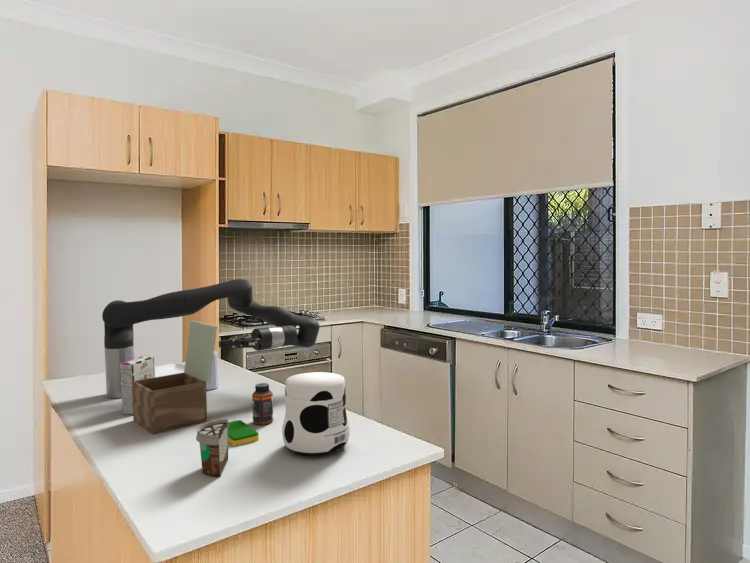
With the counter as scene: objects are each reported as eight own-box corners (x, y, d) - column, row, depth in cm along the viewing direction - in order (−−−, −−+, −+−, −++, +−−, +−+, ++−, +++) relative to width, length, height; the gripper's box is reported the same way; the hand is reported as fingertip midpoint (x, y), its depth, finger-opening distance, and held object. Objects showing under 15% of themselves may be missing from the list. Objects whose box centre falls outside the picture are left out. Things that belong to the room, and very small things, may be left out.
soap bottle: (224, 386, 199) (223, 332, 197) (207, 392, 192) (205, 335, 190) (200, 382, 206) (199, 329, 204) (183, 386, 199) (181, 332, 198)
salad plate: (209, 376, 216) (209, 368, 216) (164, 388, 198) (164, 379, 198) (175, 370, 227) (175, 362, 227) (129, 381, 209) (129, 372, 209)
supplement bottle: (277, 420, 160) (276, 383, 160) (265, 426, 155) (264, 388, 154) (261, 417, 163) (260, 381, 162) (248, 423, 158) (247, 386, 157)
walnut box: (133, 420, 161) (131, 381, 160) (185, 409, 172) (184, 372, 171) (152, 434, 149) (150, 392, 149) (207, 421, 160) (205, 381, 159)
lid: (190, 320, 172) (193, 320, 173) (184, 372, 171) (187, 372, 172) (213, 326, 160) (217, 326, 160) (206, 382, 159) (210, 382, 160)
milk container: (289, 435, 148) (288, 371, 147) (352, 435, 147) (351, 371, 146) (276, 460, 131) (274, 388, 129) (346, 461, 130) (346, 388, 129)
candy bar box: (143, 404, 178) (141, 355, 177) (156, 404, 177) (155, 355, 176) (121, 414, 167) (118, 362, 166) (135, 415, 166) (133, 363, 165)
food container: (204, 459, 132) (202, 419, 131) (229, 458, 133) (228, 418, 132) (191, 481, 120) (189, 437, 119) (219, 479, 120) (217, 436, 120)
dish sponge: (233, 447, 140) (233, 438, 140) (216, 432, 152) (216, 424, 152) (259, 441, 144) (259, 433, 144) (240, 427, 156) (240, 419, 156)
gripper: (257, 325, 186) (210, 330, 175) (277, 329, 176) (229, 335, 165) (258, 346, 187) (211, 353, 175) (278, 352, 177) (229, 359, 165)
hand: (219, 344), depth 170 cm, fingers closed
